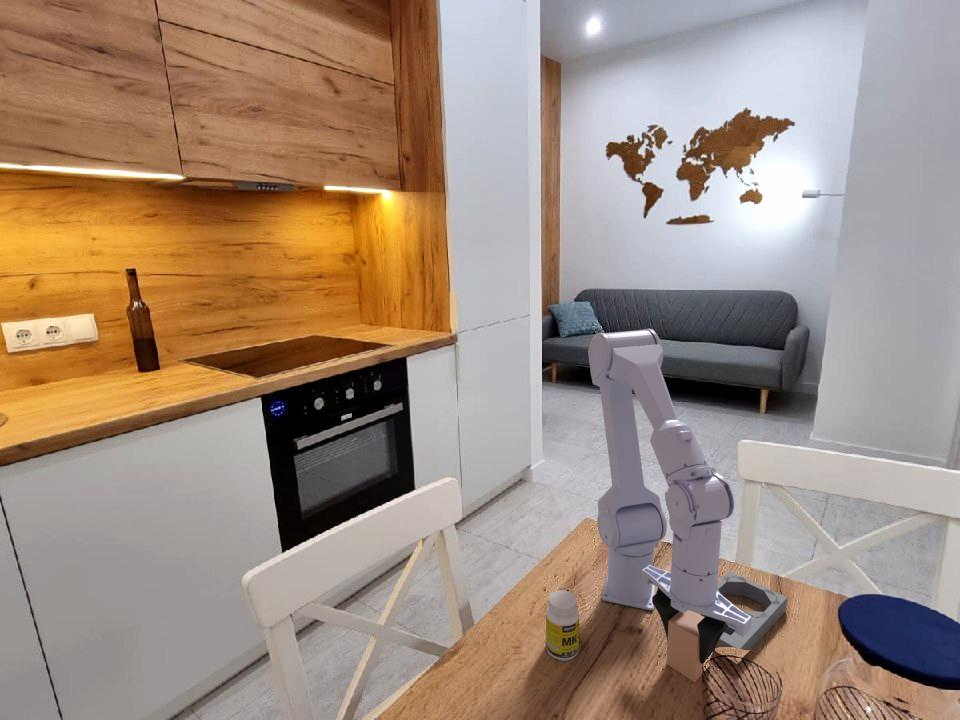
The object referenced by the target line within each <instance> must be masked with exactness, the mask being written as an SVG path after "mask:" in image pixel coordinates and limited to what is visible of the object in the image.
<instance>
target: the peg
mask: <svg viewBox="0 0 960 720" xmlns="http://www.w3.org/2000/svg"><path fill="white" fill-rule="evenodd" d="M703 618H705V617H703V616H701V615H700V614H698V613H696V612H692V611H689V610H688V611H686V612H680V611H679V612H678V613H677V614H676V615H675V616H673V617H672V618H671V619H670V620H669V622H668V641H667V644H666V645H667V647H666V660H665V661H666V665H668V666H669V667H670V668H672V669H674V670H675V671H677V672H678V673H680V674H681V675H683V676H684V677H686V678H687V679H688V680H690V681H692V682H693V683H696V682H697V681H698V680H699V679H700V677H701V676H702V675H703V674H702V665H703V664H701V663H700V658H699V653H700V636H699V631H698V628H697V624H698V623H699V622H700V621H701V620H702V619H703ZM701 674H702V675H701Z"/></svg>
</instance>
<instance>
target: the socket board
mask: <svg viewBox="0 0 960 720" xmlns="http://www.w3.org/2000/svg"><path fill="white" fill-rule="evenodd" d="M717 592H719V593H720V594H721V595H722V596H723V597H725V596H745V597H747V598H748V599H751V600H753V601H755V602H757V603H759V604H762V606H763V607H764V609H765V610H763V611H749V610H747V611H746V610H742V609H740V610H741V611H742V612H744V613H746V614H747V615H749V616H751V617H752V618H751V629H750V631H749V632H748V633H747V634H746V635H745V636H744V637H742V636H740V635H738V634H737V633H736V632H735V629H734V628H732V627H730V626H728V627H727V628H726V630H725V631H724V633H723V634H722V636H721V637H720V639H719V641H718V643H717V645H716V647H715V648H718V647H734V648H739V649H743V650H751V651H752V650H753V649H754V648H755V646H757V645H758V643H759V642H760V641H761V640H762V639H763V638H764V637H765V635H766V634H767V633H768V632H769V631H770V630H771V629H772V628H773V626H774V625H775V624H776V623H777V622H778V621H779V619H780V618H781V617H782V616H783V615H784V614H785V613H786V612H787V605H788V604H787V602H788V597H787V596H785V595H783V594H781V593H779V592H777V591H774V590H771V589H769V588H767V587H766V586H763V585H761V584H759V583H758V582H755V581H752V580H751V579H748V578H746V577H744V576H742V575H740V574H738V573H735V572H733V571H732V570H729V571H728V572H727V573H726V574H724V575H723V576H722V577H721V578H720V579H719V580H717ZM698 614H699V613H698ZM700 615H701V616H703V617H706V616H705V615H702V614H700Z"/></svg>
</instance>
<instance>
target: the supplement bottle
mask: <svg viewBox="0 0 960 720" xmlns="http://www.w3.org/2000/svg"><path fill="white" fill-rule="evenodd" d="M545 648H546V651H547V654H548V655H550V657H552V658H554V659H556V660H558V661H562V662H563V661H565V662H566V661H570V660H573V659H574V658H575V657H576V656H577V655H578V653H579V651H580V613H579V609H578V600H577V596H576V595H574V594H573V593H572V592H570V591H567V590H564V589H563V590H561V589H560V590H555V591H553V592H551V593H550V595H549V596H548V606H547V608H546V610H545Z"/></svg>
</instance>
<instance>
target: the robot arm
mask: <svg viewBox="0 0 960 720" xmlns="http://www.w3.org/2000/svg"><path fill="white" fill-rule="evenodd" d="M587 352H588V353H587V354H588V363H589V369H590V376H591V380H592V381H591V382H592V385H594V386H597V387H598V388H599V391H600V398H601V399H600V400H601V408H602V415H603V423H604V431H605V439H606V446H607V454H608V462H609V463H608V464H609V469H610V471H609V472H610V478H611V487H610V488H608V490H607V491H605V493H604V494H602V495H601V497H599V499H598V500H597V511H598V512H597V513H598V514H597V519H596V525H597V529H598V530H597V532H598V534H599V537H600V539H601V541H602V543H603V544H604V545H605V546H606V547H607V549H608V550H607V551H608V552H607V574H606V579H605V584H604V588H603V592H602V595H601V596H602V597H601V599H602V601H604V602H608V603H613V604H617V605H623V606H628V607H632V608H633V607H634V608H638V609H642V610H647V611H653V610H654V608H655V610H656V611H657V613H658V615H659V617H660V619H661V622H662V626H663V628H664V633H665V637H666V640H667V642H668V622H669V620H670V619H671V618H672V617H673V616H675V615H676V614H677V613H678V612H679V611H680V612H686V611H688V610H689V611H692V612H696V613H699V614H702V615H705V616H706V617H705V618H703V619H702V620H701V621H700V622H699V623H698V624H697V628H698V631H699V636H700V653H699V658H700V663H701V664H703V663H704V662H705V660H706V659H708V657H709V656H710V655H711V653H712V652H713V651H714V650H715V647H716V645H717V643H718V641H719V639H720V637H721V636H722V634H723V633H724V631H725V630H726V628H727V627H728V626H730V627H732V628H734V629H735V632H736V633H737V634H738V635H740V636H742V637H744V636H745V635H746V634H747V633H748V632H749V631H750V629H751V618H752V617H751V616H749V615H747V614H746V613H744V612H742V611H743V610H742V609H740V608H738V607H737V606H735V604H733V603H732V602H731V601H730V600H728V599H727V598H726V597H725V596H724V597H723V596H722V595H721V594H720V593H719V592H717V582H718V577H719V564H720V551H721V538H722V524H723V522H722V520H723V521H724V519H728V518H730V517H731V516H732V515H733V513H734V510H735V498H734V494H733V492H732V489H731V486H730V483H729V482H728V480H726V478H725V477H724V476H723V475H721V474H719V473H718V471H717V469H716V468H715V467H714V466H712V465H711V466H709V464H708V461H707V459H706V457H705V455H704V453H703V451H702V448H701V446H700V444H699V441H698V440H697V438H696V435H695V433H694V432H693V429H692V427H691V426H690V425H689V424H686V423H684V422H682V421H680V420H679V418H678V415H677V412H676V410H675V407H674V404H673V401H672V398H671V395H670V392H669V389H668V387H667V383H666V381H665V378H664V375H663V372H662V369H661V368H662V364H663V360H664V349H663V346H662V342H661V339H660V337H659V336H658V333H656V331H655V330H654V329H652V328H645V329H639V330H628V331H627V330H626V331H617V332H616V331H615V332H605V333H604V332H597V333H595V334H594V336H593V337H592V339H591V340H590V345H589V346H588V350H587ZM633 393H634V394H635V396H636V397H637V399H638V401H639V403H640V406H641V407H642V409H643V411H644V413H645V415H646V417H647V418H648V420H649V423H650V425H651V426H652V429H653V432H652V434H651V436H650V439H649V440H650V441H649V442H650V445H651V447H652V449H653V451H654V455H655V457H656V459H657V462H658V465H659V466H660V469H661V471H662V474H663V476H664V479H665V481H666V483H667V487H668V488H667V491H665V493H664V499H665V500H664V501H665V504H666V508H667V511H668V516H669V519H668V521H669V522H667V517H666V514H665V512H664V510H663V508H662V503H661V499H660V495H658V494H657V493H656V492H655V491H653V490H651V489H650V488H648V487H647V486H645V481H644V474H643V467H642V466H643V465H642V459H641V452H640V451H641V450H640V443H639V437H638V435H639V434H638V429H637V428H638V427H637V421H636V413H635V406H634V397H633ZM668 523H669V527H670V530H671V531H672V547H671V548H672V550H671V551H672V552H671V565H670V566H671V567H670V571H669V570H666V569H665V570H664V569H661V568H659V567H657V566H654V555H655V554H654V552H655V550H654V549H657V548H659V541H662V540H664V539H665V538H666V535H667V531H668ZM656 587H657V591H656V593H655V590H656ZM741 610H742V611H741ZM714 652H715V651H714Z"/></svg>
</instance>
